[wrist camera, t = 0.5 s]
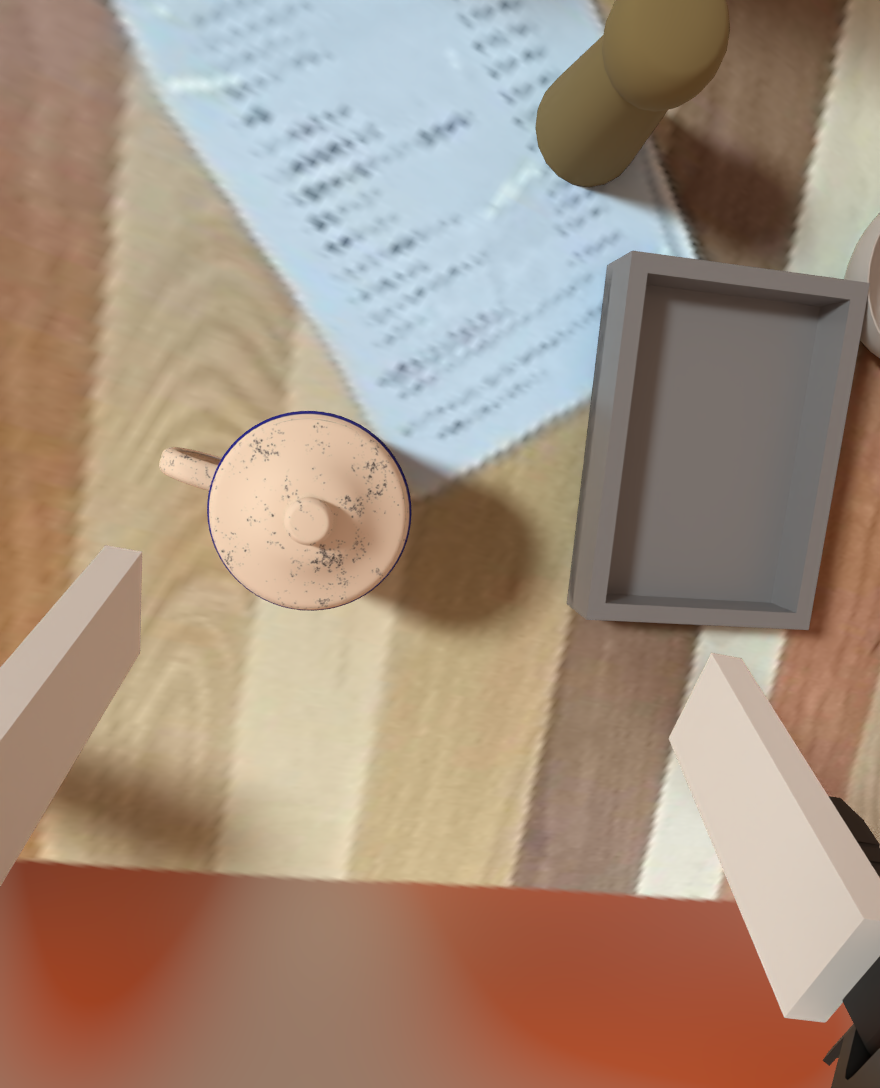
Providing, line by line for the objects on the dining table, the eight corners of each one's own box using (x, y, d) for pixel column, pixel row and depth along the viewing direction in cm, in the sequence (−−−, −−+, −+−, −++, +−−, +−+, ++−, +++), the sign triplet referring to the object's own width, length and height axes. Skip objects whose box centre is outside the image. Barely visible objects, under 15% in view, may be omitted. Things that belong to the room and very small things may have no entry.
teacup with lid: (416, 443, 40) (448, 452, 29) (368, 591, 41) (380, 655, 30) (208, 372, 38) (154, 351, 27) (162, 530, 39) (91, 575, 28)
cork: (520, 88, 38) (593, -43, 27) (622, 53, 38) (733, -91, 28) (555, 202, 39) (638, 119, 28) (653, 166, 40) (771, 71, 29)
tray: (607, 265, 40) (632, 250, 37) (826, 294, 42) (869, 283, 39) (566, 604, 43) (586, 619, 40) (773, 614, 45) (808, 630, 42)
